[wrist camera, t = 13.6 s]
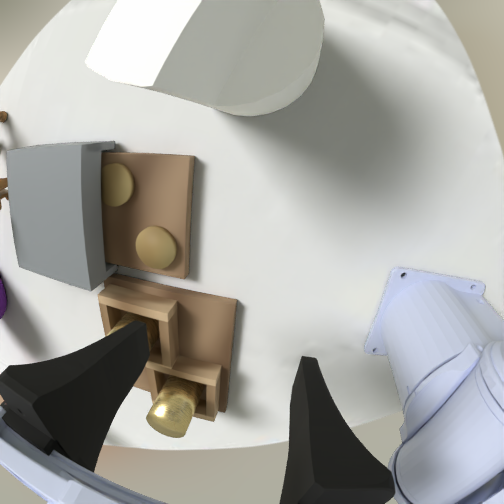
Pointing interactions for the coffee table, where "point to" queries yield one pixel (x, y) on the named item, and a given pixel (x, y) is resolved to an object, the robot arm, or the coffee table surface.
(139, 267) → the board
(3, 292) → the mug
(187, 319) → the peg board
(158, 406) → the brass peg
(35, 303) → the coffee table surface
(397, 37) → the coffee table surface
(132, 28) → the base with upright slab
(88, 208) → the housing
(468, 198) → the coffee table surface
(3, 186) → the lion figurine
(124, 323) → the placed peg
